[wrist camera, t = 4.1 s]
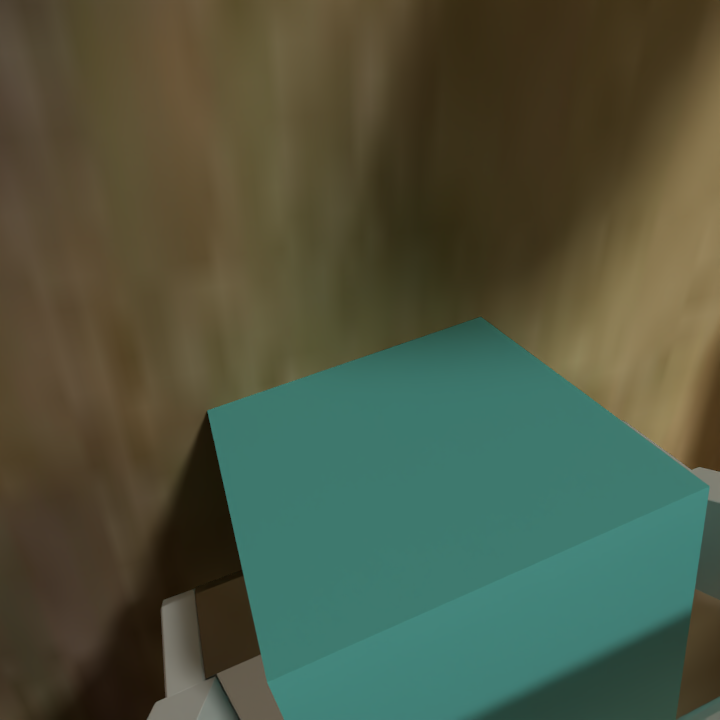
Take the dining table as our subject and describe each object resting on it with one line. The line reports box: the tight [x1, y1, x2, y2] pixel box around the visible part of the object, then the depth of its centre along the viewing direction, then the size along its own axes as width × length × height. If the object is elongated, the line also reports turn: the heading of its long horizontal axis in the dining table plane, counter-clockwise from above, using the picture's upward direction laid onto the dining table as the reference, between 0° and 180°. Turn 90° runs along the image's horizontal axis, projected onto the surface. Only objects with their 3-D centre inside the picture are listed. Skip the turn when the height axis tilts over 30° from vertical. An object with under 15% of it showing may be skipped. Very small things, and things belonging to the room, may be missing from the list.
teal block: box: [207, 317, 710, 720], centre depth 9 cm, size 5×5×5 cm
